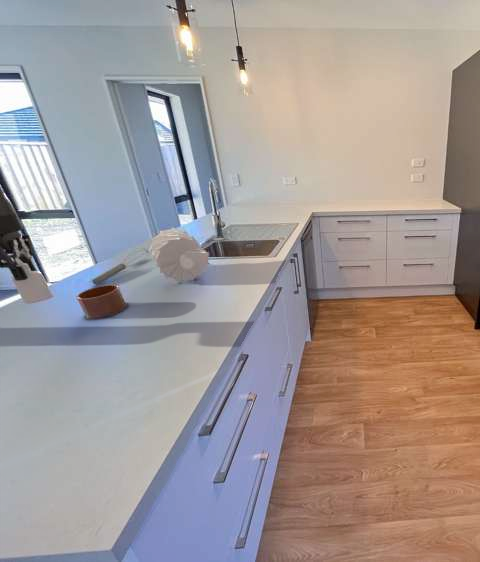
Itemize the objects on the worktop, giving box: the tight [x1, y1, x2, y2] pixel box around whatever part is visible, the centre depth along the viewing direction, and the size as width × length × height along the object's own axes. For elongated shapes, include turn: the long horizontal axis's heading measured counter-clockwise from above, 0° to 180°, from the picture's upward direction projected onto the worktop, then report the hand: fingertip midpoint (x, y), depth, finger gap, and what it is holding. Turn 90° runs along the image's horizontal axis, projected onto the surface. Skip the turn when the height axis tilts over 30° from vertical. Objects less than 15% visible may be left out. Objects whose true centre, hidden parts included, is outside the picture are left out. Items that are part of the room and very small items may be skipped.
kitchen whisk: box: [89, 247, 152, 287], centre depth 129 cm, size 6×34×6 cm, turn 1°
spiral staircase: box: [148, 227, 211, 283], centre depth 122 cm, size 18×18×25 cm
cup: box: [76, 284, 127, 320], centre depth 97 cm, size 10×10×7 cm
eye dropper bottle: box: [11, 260, 54, 305], centre depth 82 cm, size 4×6×12 cm
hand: (26, 276), depth 81 cm, fingers closed on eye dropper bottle, 4 cm apart
